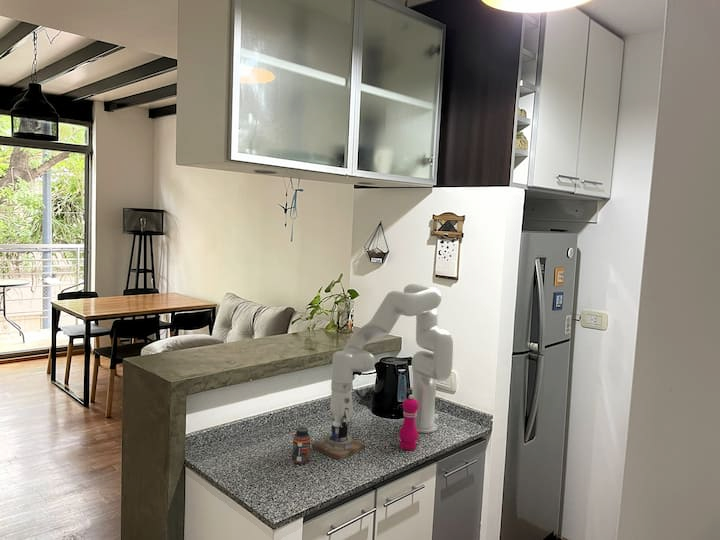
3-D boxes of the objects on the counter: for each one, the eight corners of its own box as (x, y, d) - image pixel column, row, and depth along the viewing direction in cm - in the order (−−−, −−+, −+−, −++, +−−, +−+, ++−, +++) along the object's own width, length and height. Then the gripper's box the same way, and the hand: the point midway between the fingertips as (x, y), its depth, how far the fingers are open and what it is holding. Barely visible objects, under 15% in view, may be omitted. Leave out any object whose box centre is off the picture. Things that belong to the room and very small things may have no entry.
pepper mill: (416, 451, 194) (419, 398, 193) (396, 449, 196) (400, 396, 194) (418, 444, 202) (421, 392, 200) (399, 441, 203) (402, 390, 201)
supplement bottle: (302, 466, 178) (303, 433, 177) (288, 461, 181) (289, 429, 180) (312, 460, 183) (314, 428, 182) (299, 455, 187) (300, 424, 186)
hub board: (337, 437, 204) (337, 427, 204) (365, 448, 195) (365, 438, 195) (311, 447, 193) (311, 437, 193) (339, 460, 184) (340, 449, 184)
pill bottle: (331, 438, 197) (332, 412, 196) (346, 438, 197) (347, 413, 196) (331, 444, 191) (332, 417, 190) (345, 444, 191) (347, 418, 191)
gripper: (361, 391, 186) (358, 441, 188) (341, 378, 201) (339, 424, 203) (342, 394, 183) (339, 444, 184) (322, 379, 198) (320, 426, 200)
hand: (339, 433), depth 194 cm, fingers closed on pill bottle, 5 cm apart
